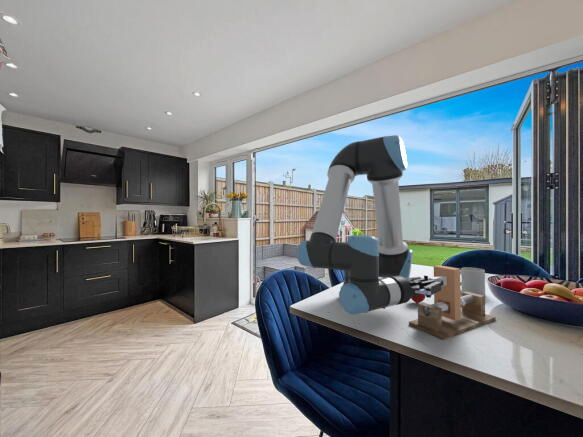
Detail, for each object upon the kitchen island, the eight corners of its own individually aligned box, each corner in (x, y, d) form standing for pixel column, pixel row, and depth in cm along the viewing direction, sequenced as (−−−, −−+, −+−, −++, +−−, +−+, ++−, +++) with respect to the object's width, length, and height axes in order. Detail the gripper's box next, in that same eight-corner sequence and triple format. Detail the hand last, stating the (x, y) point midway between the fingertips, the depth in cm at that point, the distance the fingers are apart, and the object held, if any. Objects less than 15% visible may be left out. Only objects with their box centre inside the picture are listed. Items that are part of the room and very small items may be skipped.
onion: (425, 307, 94) (424, 286, 94) (408, 304, 97) (408, 284, 97) (426, 302, 99) (425, 282, 99) (410, 300, 102) (410, 281, 102)
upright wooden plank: (455, 320, 75) (454, 269, 75) (434, 313, 81) (433, 266, 81) (460, 318, 76) (460, 268, 76) (440, 311, 82) (439, 265, 82)
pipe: (431, 318, 73) (431, 307, 73) (421, 314, 76) (421, 304, 76) (480, 303, 84) (480, 294, 84) (470, 301, 87) (470, 292, 87)
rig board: (443, 339, 69) (442, 313, 69) (408, 324, 79) (408, 301, 79) (495, 320, 81) (495, 297, 81) (460, 309, 91) (460, 289, 91)
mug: (489, 294, 107) (488, 269, 107) (480, 298, 103) (479, 272, 103) (459, 288, 118) (458, 265, 118) (449, 291, 113) (449, 267, 113)
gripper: (373, 297, 73) (425, 286, 83) (412, 312, 61) (467, 298, 72) (373, 272, 73) (425, 265, 83) (411, 282, 61) (466, 272, 72)
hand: (444, 280), depth 77 cm, fingers closed
